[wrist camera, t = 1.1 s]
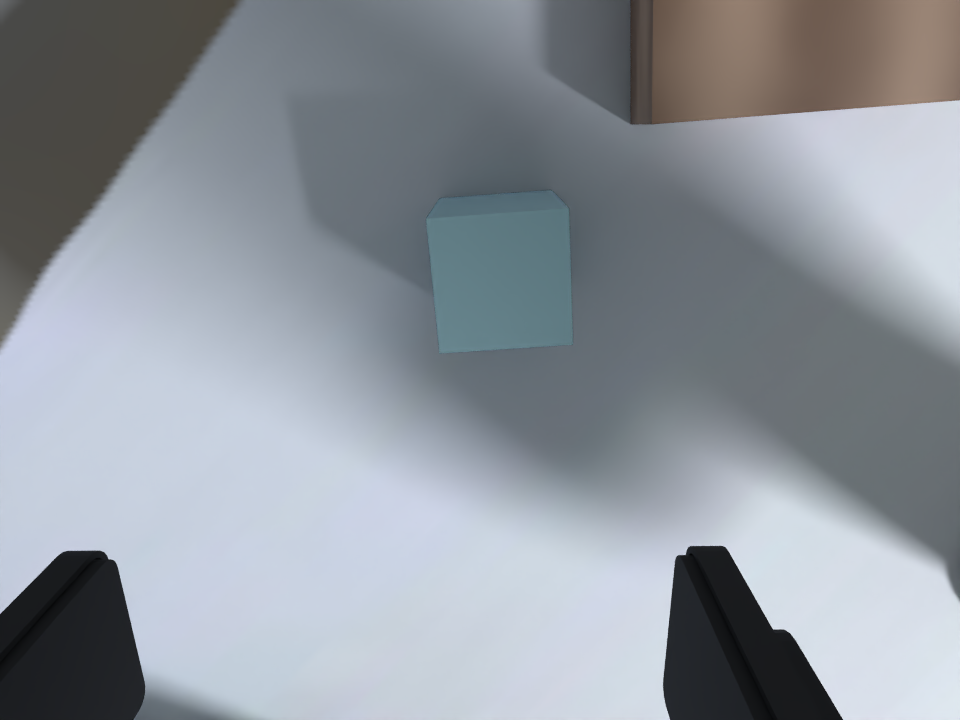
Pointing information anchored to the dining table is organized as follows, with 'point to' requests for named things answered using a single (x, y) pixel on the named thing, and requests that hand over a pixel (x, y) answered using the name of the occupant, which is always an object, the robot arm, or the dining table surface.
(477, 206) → the teal block
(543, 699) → the dining table surface
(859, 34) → the walnut plinth
